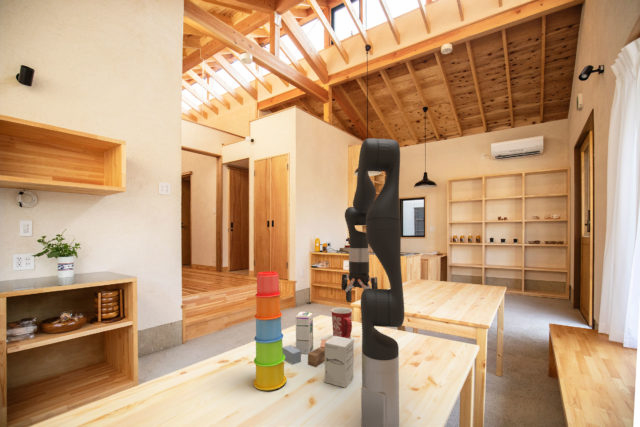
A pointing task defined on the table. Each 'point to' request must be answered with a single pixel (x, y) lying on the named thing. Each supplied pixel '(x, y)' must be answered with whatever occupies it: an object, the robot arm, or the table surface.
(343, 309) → the mug
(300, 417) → the table surface
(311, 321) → the syrup box
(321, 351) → the walnut brick
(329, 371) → the supplement box
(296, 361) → the slate-blue brick
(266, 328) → the stacking cups
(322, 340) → the terracotta brick
